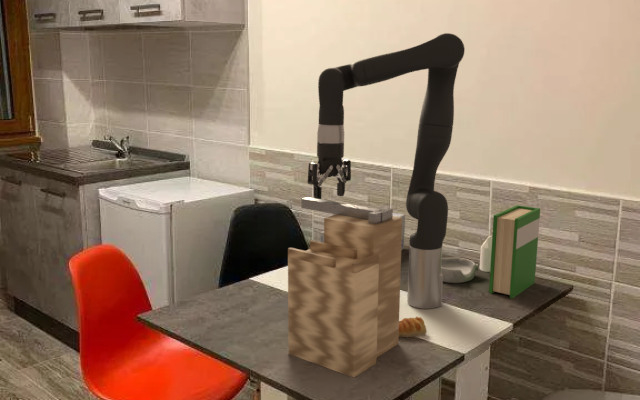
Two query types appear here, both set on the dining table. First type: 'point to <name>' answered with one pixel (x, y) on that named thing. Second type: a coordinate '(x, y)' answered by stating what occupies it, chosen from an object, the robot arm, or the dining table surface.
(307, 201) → the t handle
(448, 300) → the dining table surface
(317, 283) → the stand
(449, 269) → the dish
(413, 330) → the pastry
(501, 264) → the hardback book
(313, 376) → the dining table surface
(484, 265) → the white bottle
